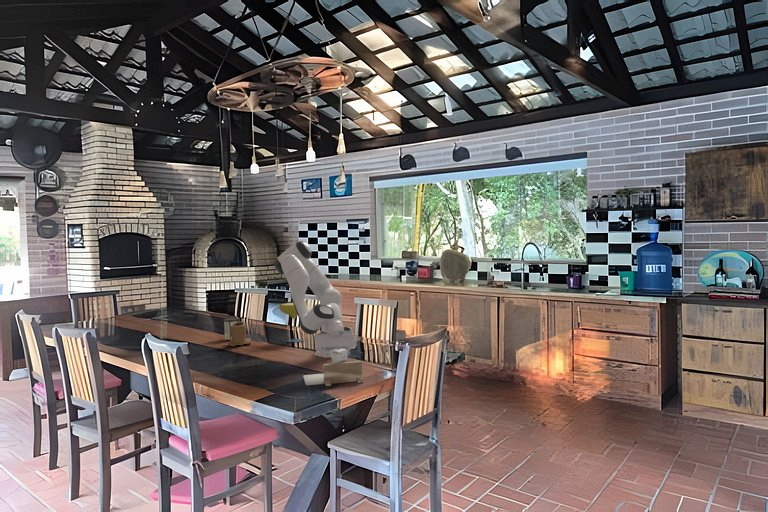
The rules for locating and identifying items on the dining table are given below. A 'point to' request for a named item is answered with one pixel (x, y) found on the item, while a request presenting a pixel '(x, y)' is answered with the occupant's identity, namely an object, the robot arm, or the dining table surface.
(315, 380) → the display pad
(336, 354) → the syrup box
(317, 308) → the robot arm
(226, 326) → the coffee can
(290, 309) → the cocktail glass
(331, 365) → the birch screen
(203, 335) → the dining table surface
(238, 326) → the stone cup
